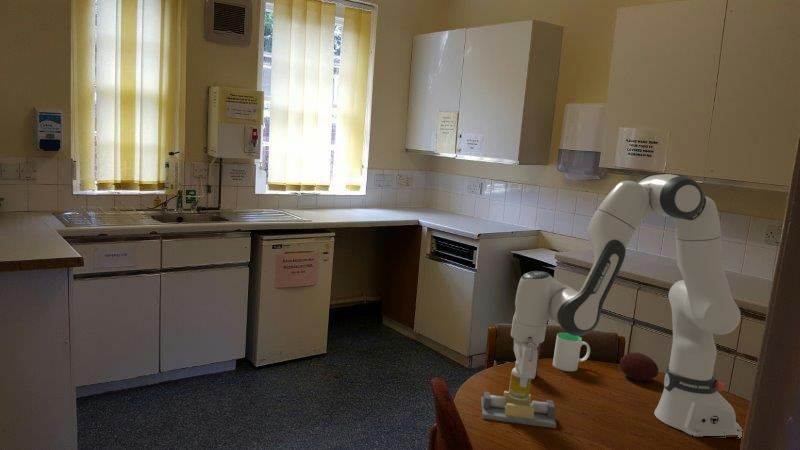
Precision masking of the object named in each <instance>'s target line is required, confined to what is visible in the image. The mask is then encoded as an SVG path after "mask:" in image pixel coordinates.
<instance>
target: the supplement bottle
mask: <svg viewBox="0 0 800 450" xmlns="http://www.w3.org/2000/svg"><path fill="white" fill-rule="evenodd" d="M514 366H515V367H513V368H512V370H511V374H510V379H509V380H510V381H509V388H508V391H509V396H510V397H511V398H513V399H516V400H527V399H528V398H529V394H530V393H531V392H530V390H531V385H532V384H531V383H532V379H530V378H528V381H527V386H526V387H520V385H519V380H520V376H521V375H520V371H519V368H518V363H517V360H515V365H514Z"/></svg>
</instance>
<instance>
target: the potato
mask: <svg viewBox="0 0 800 450" xmlns="http://www.w3.org/2000/svg"><path fill="white" fill-rule="evenodd" d="M619 366H620V369H621V371H622V373H623V374H624V375H626V376H627V377H628V378H630V379H631V380H635V381H649V380H652V379H655V377H657V376H658V375H659V367H658V364H657V363H656V362H655V360H653V359H652V358H651V357H650V356H648V355H646V354H644V353H640V352H629V353H627V354H625V355H623V356H622V357H621V358H620V360H619Z"/></svg>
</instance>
